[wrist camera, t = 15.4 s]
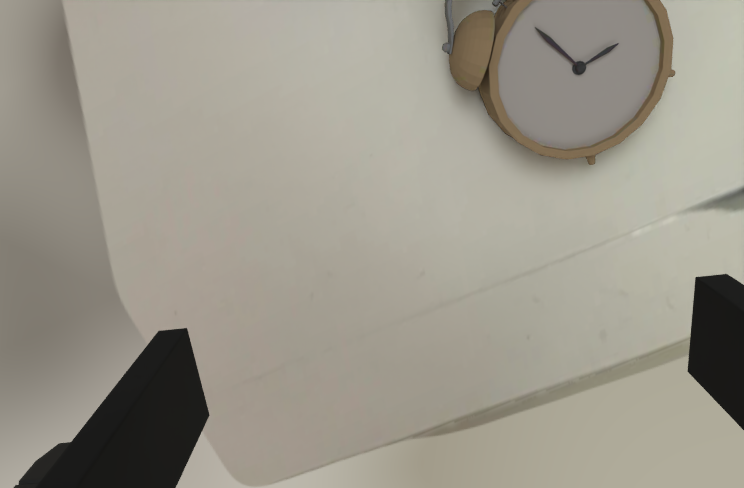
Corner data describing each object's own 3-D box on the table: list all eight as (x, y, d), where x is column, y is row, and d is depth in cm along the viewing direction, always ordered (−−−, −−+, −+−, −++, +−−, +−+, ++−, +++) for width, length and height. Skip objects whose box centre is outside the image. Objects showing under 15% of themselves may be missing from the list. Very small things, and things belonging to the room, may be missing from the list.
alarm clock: (582, 195, 36) (409, 53, 31) (551, 171, 41) (394, 43, 35) (714, 50, 33) (547, -135, 28) (664, 42, 37) (512, -120, 32)
